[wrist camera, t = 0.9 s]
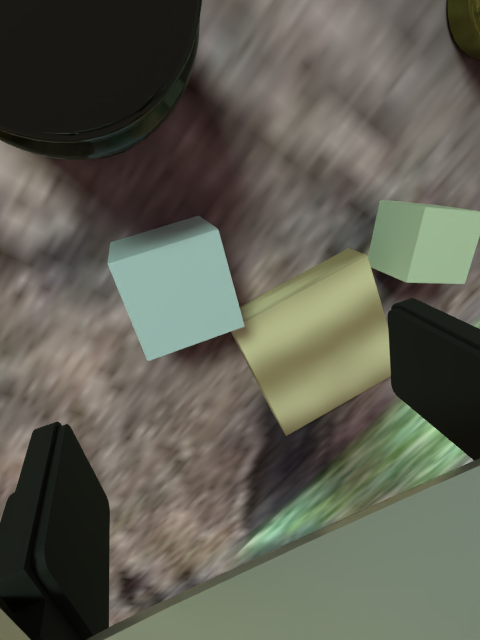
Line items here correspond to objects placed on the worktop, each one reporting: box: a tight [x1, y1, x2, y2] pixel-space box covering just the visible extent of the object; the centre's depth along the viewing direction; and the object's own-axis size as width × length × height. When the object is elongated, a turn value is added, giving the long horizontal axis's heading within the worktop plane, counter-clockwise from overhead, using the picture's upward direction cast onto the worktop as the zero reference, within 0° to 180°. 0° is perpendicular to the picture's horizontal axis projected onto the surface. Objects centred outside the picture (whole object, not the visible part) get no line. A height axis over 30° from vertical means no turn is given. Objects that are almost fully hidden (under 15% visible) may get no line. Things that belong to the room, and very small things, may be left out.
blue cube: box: [108, 215, 245, 361], centre depth 24 cm, size 6×6×6 cm
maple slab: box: [231, 248, 391, 436], centre depth 31 cm, size 11×11×3 cm
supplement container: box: [0, 0, 202, 160], centre depth 16 cm, size 10×10×12 cm
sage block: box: [368, 200, 480, 284], centre depth 29 cm, size 5×5×5 cm
